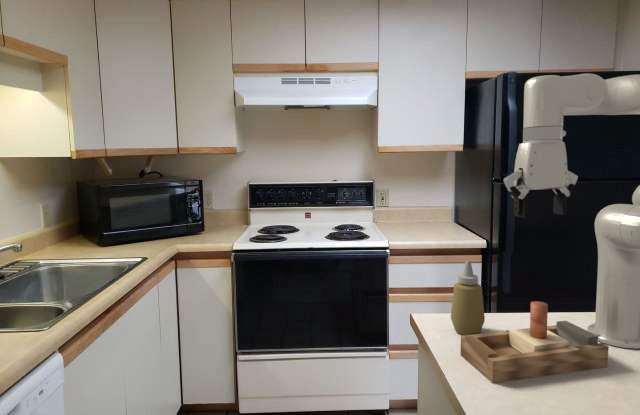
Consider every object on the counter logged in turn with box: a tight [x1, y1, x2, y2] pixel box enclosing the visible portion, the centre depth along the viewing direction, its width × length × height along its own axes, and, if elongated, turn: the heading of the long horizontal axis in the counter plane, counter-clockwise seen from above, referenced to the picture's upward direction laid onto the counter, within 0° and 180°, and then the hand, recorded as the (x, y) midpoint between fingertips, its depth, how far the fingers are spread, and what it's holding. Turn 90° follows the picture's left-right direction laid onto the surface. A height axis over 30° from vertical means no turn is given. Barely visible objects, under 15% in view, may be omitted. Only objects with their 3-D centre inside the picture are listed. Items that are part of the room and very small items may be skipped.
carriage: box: [508, 300, 569, 353], centre depth 90 cm, size 8×8×10 cm
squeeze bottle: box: [450, 260, 486, 336], centre depth 105 cm, size 8×8×18 cm
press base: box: [460, 320, 610, 384], centre depth 90 cm, size 26×12×6 cm, turn 101°
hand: (540, 215), depth 93 cm, fingers open, 9 cm apart
